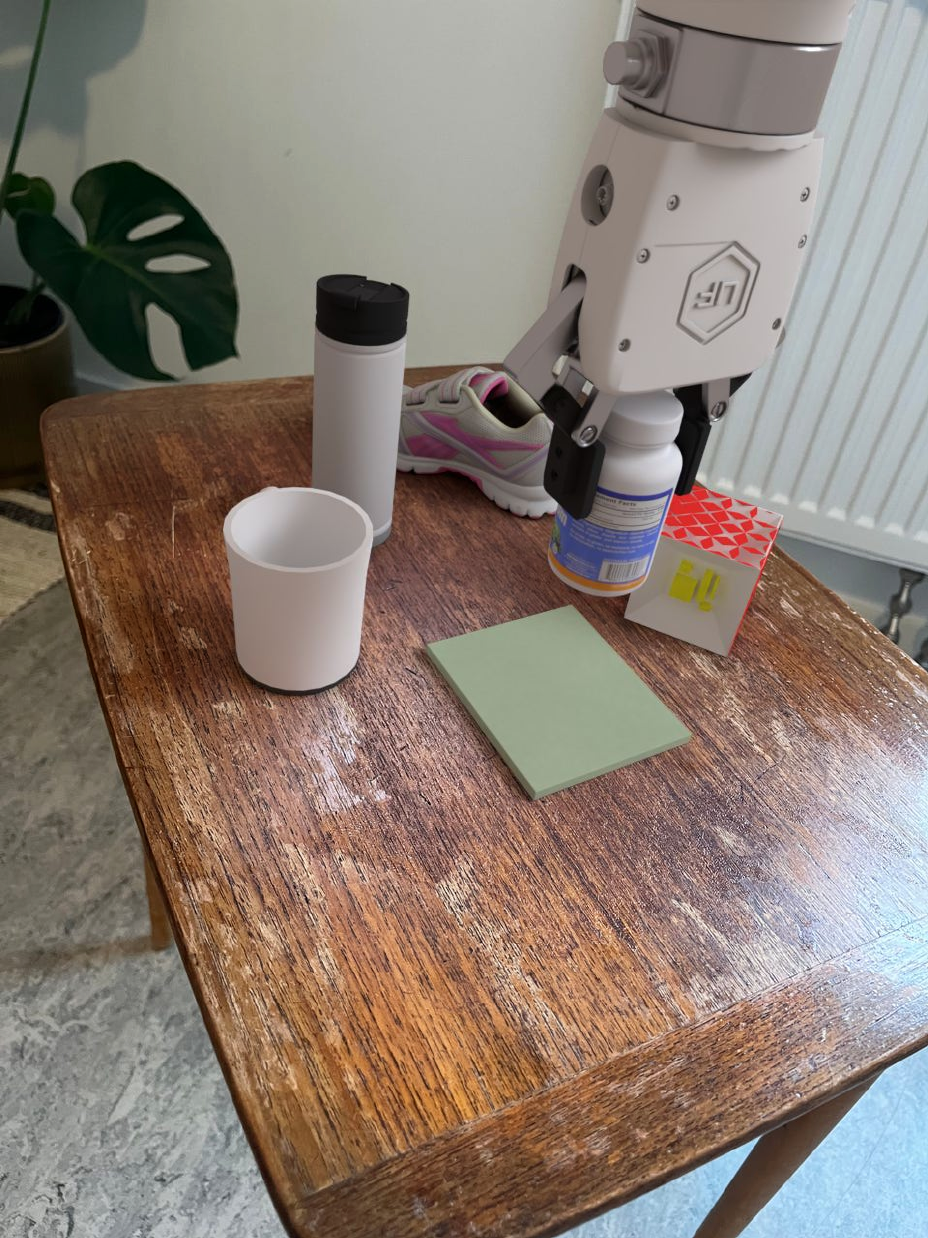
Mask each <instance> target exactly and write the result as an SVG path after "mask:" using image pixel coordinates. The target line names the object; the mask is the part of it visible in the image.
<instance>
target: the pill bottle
mask: <svg viewBox="0 0 928 1238" xmlns="http://www.w3.org/2000/svg"><path fill="white" fill-rule="evenodd" d="M682 416H683V406H682V404H681V402H680V401H679V400H678V399H677V398H676V397H675V396H674V394H672V393H671V392H669V391H668V390H661V391H654V392H648V393H642V394H635V395H627V396H619V397H618V399H617V401H616V403H615V405H614V407H613V409H612V411H611V413H610V415H609V417H608V419H607V421H606V423H605V425H604V427H603V429H602V431H601V433H600V434H599V436H598V438H597V439H598V440H599V441H600V442H601V443H603V444H604V446H605V449H606V453H605V457H604V461H603V465H602V469H601V474H600V478H599V482H598V486H597V490H596V494H595V498H594V502H593V506H592V511H591V513H590V514H589V516H588V517H587V518H585V519H580V520H575V519H574V518H573V517H572V516H571V515H569V514H568V513H567V512H566V511H565V510H564V509H563V508H562V507H561V506H560V505H559V504H558V506H557V510H556V514H554V520H553V525H552V529H551V534H550V538H549V542H548V549H547V561H548V564H549V566H550V568H551V570H552V572H553V573H554V574H555V575H556V577H557V578H559V580H561V582H563V583H564V584H566V585H568V586H569V587H571V588H573V589H575V590H577V591H579V592H582V593H584V594H588V595H592V596H596V597H604V598H605V597H606V598H612V597H620V596H625V595H628V594H631V592H633V591H635V590H636V589H638V588H639V587H640V586H641V585H642V584H643V583H644V582H645V581H646V579H647V577H648V574H649V571H650V568H651V565H652V562H653V558H654V555H655V551H656V548H657V545H658V542H659V538H660V535H661V532H662V529H663V526H664V522H665V519H666V516H667V513H668V510H669V507H670V504H671V500H672V497H673V494H674V491H675V488H676V485H677V482H678V479H679V476H680V472H681V469H682V456H681V453H680V450H679V448H678V447H677V445H676V444H675V442H674V440H675V438H676V436H677V435H678V432H679V428H680V424H681V420H682Z"/></svg>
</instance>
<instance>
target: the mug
mask: <svg viewBox="0 0 928 1238" xmlns="http://www.w3.org/2000/svg"><path fill="white" fill-rule="evenodd" d="M222 531H223V532H222V534H223V540H224V546H225V551H226V552H225V553H226V558H227V563H228V568H229V569H228V570H229V580H230V581H229V582H230V593H231V606H232V617H233V618H232V619H233V629H234V641H235V642H234V643H235V653H236V659H237V663H238V666H239V668H240V669H241V670H242V672H243V674H244V675H245V676H246V677H247V678H248V680H250V681H252V682H253V683H254V684H256V686H257V687H260V688H262V689H265V690H267V691H269V692H272V693H277V694H280V695H286V696H308V695H316V694H320V693H323V692H325V691H329V690H331V689H334V688H335V687H337V686H338V685H340V684H341V683H343V682H344V681H346V680H347V678H348V677H349V676H350V675H351V674H352V673H353V672H354V671H355V670H356V666H357V664H358V662H359V659H360V650H361V640H362V639H361V638H362V627H363V618H364V617H363V616H364V606H365V595H366V585H367V577H368V575H367V574H368V569H369V564H370V558H371V553H372V549H373V548H372V543H373V524H372V522H371V520H370V518H369V516H368V514H367V513H366V512H365V511H364V510H363V509H362V508H361V507H360V506H359V505H357V504H355V503H354V502H352V501H350V500H349V499H347V498H345V497H343V496H340V495H337V494H335V493H332V492H329V491H324V490H319V489H314V488H312V487H298V486H292V487H291V486H290V487H281V488H279V487H277V486H267V487H264V488H262V489H260V491H259V492H257V493H255V494H252V495H251V496H248V497H246V498H244V499H242V500H241V501H239V502H238V503H237V504H236V505H234V506H233V507H231V509H230V511H229V512H228V514H226V516H225V517H224V522H223V528H222Z"/></svg>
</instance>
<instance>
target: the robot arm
mask: <svg viewBox="0 0 928 1238" xmlns="http://www.w3.org/2000/svg"><path fill="white" fill-rule="evenodd" d="M857 1H858V0H635V2H634V4H635V6H634V7H633V11H632V17H631V21H630V27H629V32H628V36H627V40H626V41H624V40H621V41H620V40H617V41H612V42H611V43H610V44H609V45H608V46H607V48H606V50H605V53H604V57H603V60H602V71H603V77H604V79H605V81H606V82H607V84H609V85H611V86H617V89H618V90H617V93H616V98H615V102H614V106H610V107H605V108H603V111H602V112H601V115H600V117H599V120H598V123H597V125H596V128H595V130H594V133H593V135H592V137H591V140H590V143H589V146H588V149H587V152H586V155H585V158H584V160H583V162H582V166H581V168H580V172H579V176H578V178H577V182H576V184H575V188H574V191H573V193H572V198H571V201H570V205H569V208H568V212H567V216H566V219H565V222H564V226H563V230H562V234H561V238H560V242H559V246H558V250H557V254H556V257H555V263H554V268H553V273H552V278H551V282H550V288H549V292H548V298H547V304H546V309H545V311H544V312H542V314H541V315H540V317H538V319H537V320H536V321H535V322H534V323H533V324H532V326H531V327H530V328H529V329H528V331H527V332H526V333H525V334H524V335H523V336H522V337H521V339H519V341H518V342H517V343H516V344H515V345H514V346H513V348H511V350H510V352H508V353H507V355H506V356H505V357H504V359H503V362H502V365H501V366H502V370H503V372H505V373H506V374H507V375H508V376H509V377H510V378H511V379H512V380H513V381H514V382H515V383H517V384H518V385H519V386H520V387H521V388H522V389H523V390H524V391H525V392H526V393H527V394H528V395H529V396H530V397H531V398H532V399H533V401H534V402H535V403H536V404H537V405H538V406H539V407H540V409H541V410H542V411H543V412H544V414H545V416H546V417H547V418H548V419H550V420H551V421H552V422H553V423H554V425H553V430H552V435H551V440H550V445H549V450H548V455H547V460H546V465H545V470H544V477H543V478H544V480H543V486H544V489H545V491H546V492H547V493H548V494H549V495H550V496H551V497H552V498H553V499H554V500H555V501H556V502H557V503H558V504H559V505H560V506H561V507H562V508H563V509H564V510H565V511H566V512H567V513H568V514H569V515H571V516H572V517H573V518H574V519H575V520H580V519H585V518H587V517H588V516H589V514H590V513H591V511H592V506H593V502H594V498H595V494H596V490H597V486H598V482H599V478H600V474H601V469H602V465H603V461H604V457H605V453H606V449H605V446H604V444H603V443H601V442H600V441H599V440H598V439H597V438H598V436H599V434H600V433H601V431H602V429H603V427H604V425H605V423H606V421H607V419H608V417H609V415H610V413H611V411H612V409H613V407H614V405H615V403H616V401H617V399H618V397H619V396H627V395H635V394H642V393H648V392H654V391H661V390H666V391H668V390H671V389H672V393H673V395H674V396H675V397H676V398H677V399H678V400H679V401H680V402H681V404H682V406H683V416H682V420H681V424H680V428H679V432H678V435H677V436H676V438H675V440H674V442H675V444H676V445H677V447H678V448H679V450H680V453H681V456H682V469H681V472H680V476H679V479H678V482H677V485H676V488H675V491H674V494H676V495H678V496H683V495H687V494H690V493H691V491H692V488H693V485H694V484H695V482H696V478H697V475H698V472H699V468H700V466H701V462H702V459H703V457H704V453H705V450H706V446H707V442H708V440H709V437H710V434H711V431H712V427H713V425H712V424H711V423H717V422H719V421H720V420H722V419H723V418H724V417H725V416H726V414H727V413H728V411H729V407H730V398H731V397H732V396H733V395H734V394H735V393H736V392H737V391H738V390H739V389H740V388H741V387H742V386H743V385H745V383H746V382H747V381H748V380H749V379H750V377H751V376H752V375H753V373H754V372H755V371H757V370H759V369H761V368H762V367H764V366H765V365H767V363H768V362H769V361H770V360H771V358H772V357H773V354H774V352H775V350H776V349H778V347H780V345H782V344H783V342H784V341H785V338H786V329H785V326H784V325H785V322H786V320H787V316H788V313H789V309H790V306H791V303H792V300H793V297H794V296H793V295H794V292H795V289H796V285H797V282H798V278H799V276H800V271H801V267H802V264H803V260H804V256H805V253H806V248H807V244H808V240H809V237H810V232H811V228H812V224H813V218H814V214H815V209H816V203H817V198H818V193H819V188H820V187H819V186H820V180H821V175H822V167H823V158H824V157H823V156H824V146H825V134H824V133H823V132H822V131H820V130H818V129H817V128H816V127H817V123H818V121H819V118H820V115H821V111H822V108H823V106H824V102H825V99H826V97H827V93H828V91H829V87H830V83H831V81H832V77H833V75H834V71H835V68H836V65H837V62H838V58H839V55H840V53H841V49H842V46H843V41H844V40H845V39H846V35H847V33H848V30H849V26H850V23H851V20H852V16H853V12H854V9H855V7H856V4H857ZM562 356H564V357H567V358H566V360H565V361H564V363H563V365H562V368H561V370H560V372H559V374H558V376H557V378H556V377H555V376H554V374H553V370H554V367H555V365H556V363H557V362H558V361H559V359H560V358H561V357H562ZM587 382H589V384H591V385H592V386H591V389H590V391H589V393H588V396H587V397H586V399H585V401H584V403H583V405H582V406H581V404H580V403H579V402H578V399H579V397H580V395H581V393H582V391H583V389H584V387H585V385H586V383H587Z"/></svg>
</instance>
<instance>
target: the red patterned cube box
mask: <svg viewBox="0 0 928 1238" xmlns="http://www.w3.org/2000/svg"><path fill="white" fill-rule="evenodd" d="M784 517H785V515H784V514H780V513H777V512H775V511H771V510H769V509H765V508H762V507H760V506H756V505H753V504H751V503H748V502H745V501H742V500H740V499H736V498H733V497H730V496H727V495H725V494H722V493H719V492H715V491H712V490H710V489H706V488H703V487H700V486H698V485H693V488H692V491H691V493H690V494H687V495H683V496H678V495H676V494H673V497H672V500H671V504H670V507H669V510H668V513H667V516H666V519H665V522H664V526H663V529H662V532H661V535H660V538H659V542H658V545H657V548H656V551H655V555H654V558H653V562H652V565H651V568H650V571H649V574H648V577H647V579H646V581H645V582H644V583H643V584H642V585H641V586H640V587H639V588H638V589H636V590H635V591H633V592H631V593H629V598H628V601H627V605H626V608H625V611H624V615H623V619H625V620H628V621H631V622H634V623H637V624H638V625H641V626H644V627H647V628H648V629H651V630H653V631H654V630H655V631H657V632H660V633H662V634H664V635H667V636H670V637H672V638H675V639H678V640H680V641H682V642H685V643H688V644H690V645H692V646H693V645H694V646H696V647H699V648H701V649H704V650H706V651H708V652H712V653H714V654H717V655H719V656H722V657H725V658H727V657H728V656H729V655H730V652H731V650H732V649H733V646H734V644H735V643H734V642H735V640H736V638H737V635H738V633H739V631H740V628H741V625H742V623H743V620H744V618H745V617H746V614H747V611H748V609H749V606H750V604H751V602H752V601H753V597H754V595H755V592H756V591H757V587H758V584H759V582H760V579H761V577H762V576H763V573H764V570H765V567H766V564H767V561H768V558H769V557H770V555H771V553H772V549H773V547H774V544H775V541H776V539H777V536H778V534H779V532H780V530H781V527H782V525H783V522H784Z"/></svg>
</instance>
